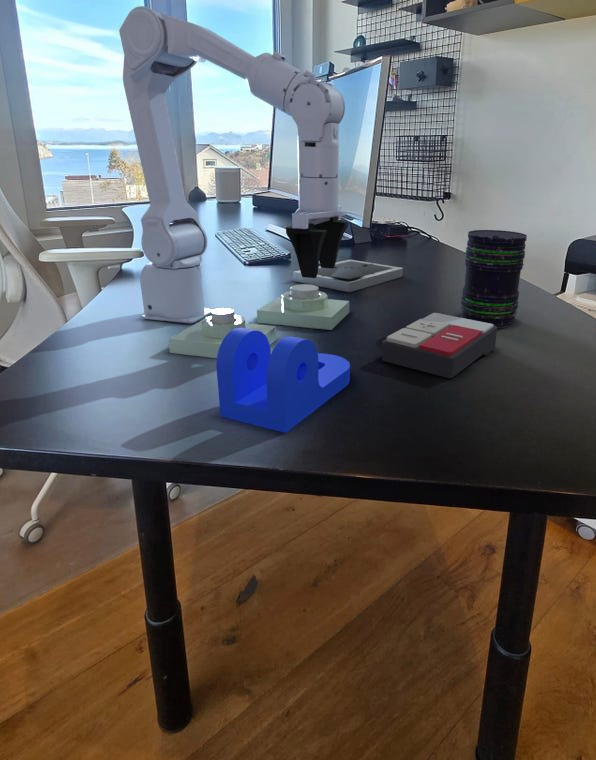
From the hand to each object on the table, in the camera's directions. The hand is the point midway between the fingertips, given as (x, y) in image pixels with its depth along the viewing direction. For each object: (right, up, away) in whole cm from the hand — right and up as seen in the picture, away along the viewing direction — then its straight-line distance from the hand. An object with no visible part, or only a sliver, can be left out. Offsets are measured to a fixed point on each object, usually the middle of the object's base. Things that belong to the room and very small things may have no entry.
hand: (318, 272), depth 83 cm
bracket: (-1, -18, -18) cm, 25 cm away
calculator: (+18, -13, -4) cm, 22 cm away
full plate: (-4, -5, +12) cm, 14 cm away
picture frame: (+3, +7, +42) cm, 43 cm away
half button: (-13, -8, -4) cm, 16 cm away
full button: (-3, -2, +11) cm, 12 cm away
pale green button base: (-14, -11, -3) cm, 18 cm away
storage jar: (+29, -6, +14) cm, 33 cm away
